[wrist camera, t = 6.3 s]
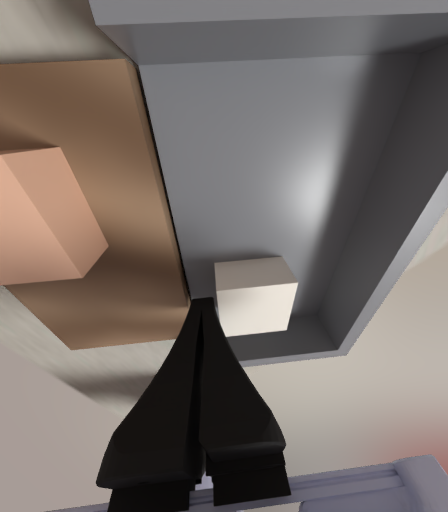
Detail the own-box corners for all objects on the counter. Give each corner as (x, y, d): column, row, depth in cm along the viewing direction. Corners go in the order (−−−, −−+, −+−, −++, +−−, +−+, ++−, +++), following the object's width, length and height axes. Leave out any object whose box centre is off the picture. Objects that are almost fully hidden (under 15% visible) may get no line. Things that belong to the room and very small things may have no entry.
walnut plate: (195, 324, 16) (195, 336, 15) (79, 336, 16) (71, 350, 15) (136, 68, 7) (124, 58, 6) (-154, 81, 6) (-218, 74, 5)
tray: (322, 317, 17) (346, 355, 14) (199, 330, 17) (198, 372, 14) (452, 15, 7) (635, -68, 4) (132, 27, 6) (71, -59, 3)
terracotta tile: (108, 245, 10) (82, 277, 8) (20, 253, 9) (-32, 288, 7) (60, 147, 7) (0, 154, 5) (-64, 154, 7) (-180, 166, 5)
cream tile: (275, 301, 15) (286, 330, 13) (219, 307, 14) (221, 337, 12) (282, 256, 12) (298, 282, 10) (214, 262, 12) (216, 291, 10)
